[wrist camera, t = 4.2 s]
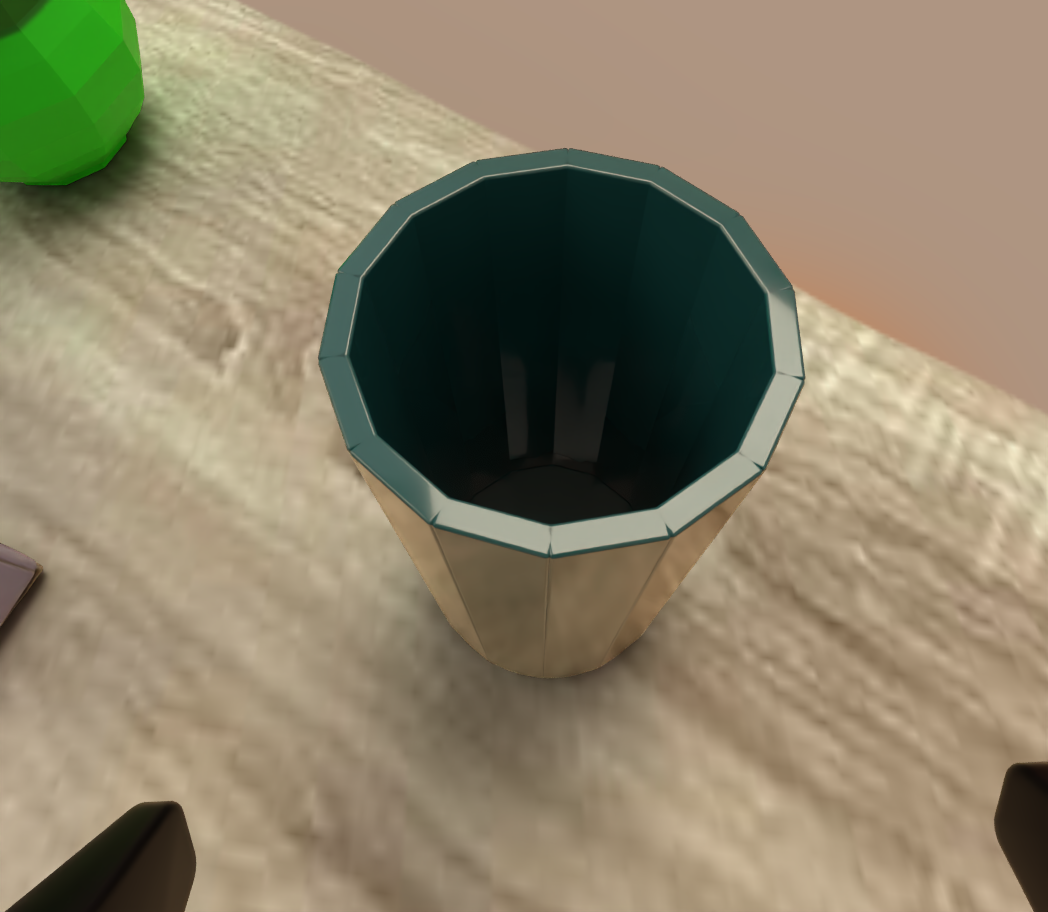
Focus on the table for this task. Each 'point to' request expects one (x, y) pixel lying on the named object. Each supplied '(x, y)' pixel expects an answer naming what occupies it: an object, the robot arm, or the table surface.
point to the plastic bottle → (65, 87)
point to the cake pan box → (15, 578)
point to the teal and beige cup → (560, 392)
